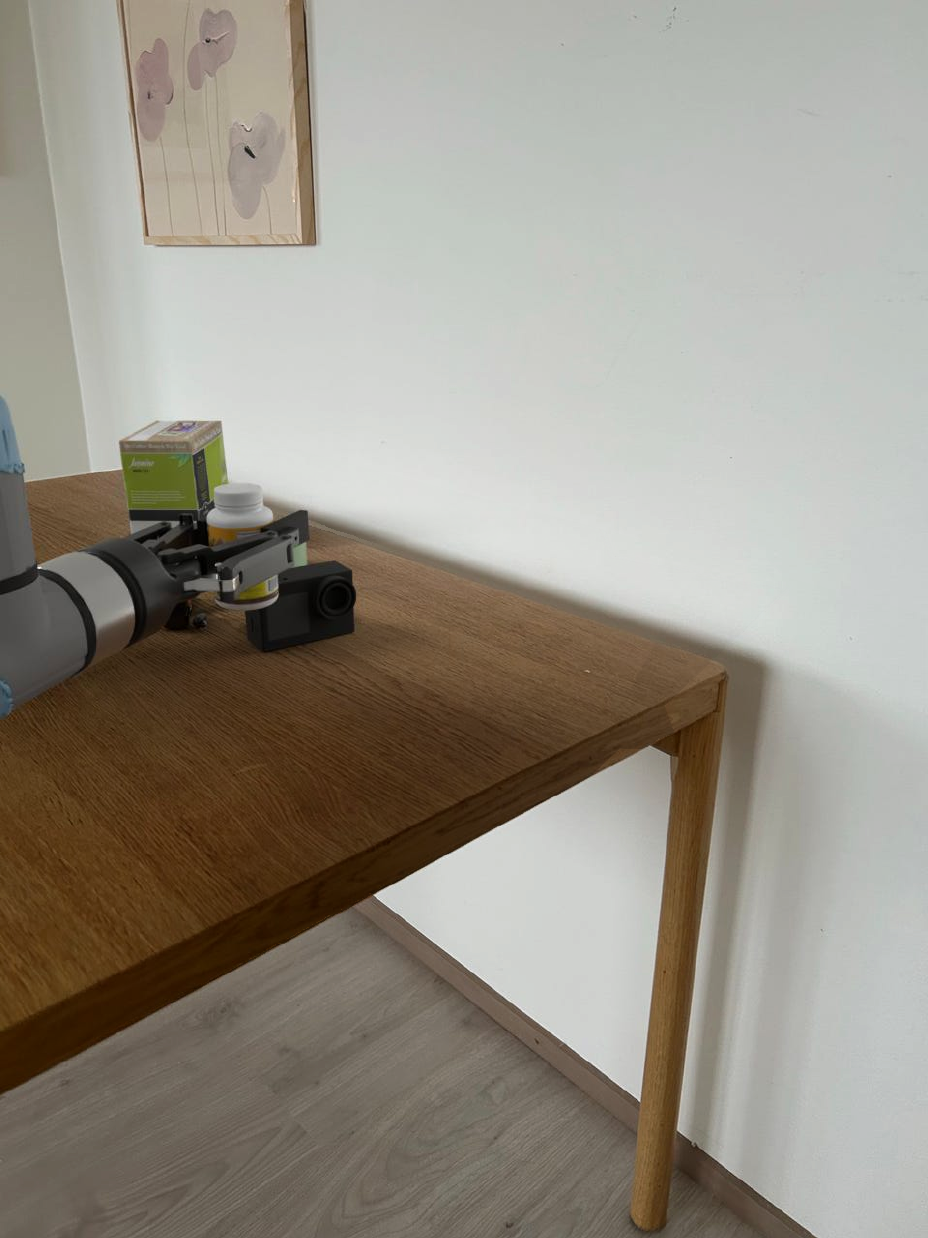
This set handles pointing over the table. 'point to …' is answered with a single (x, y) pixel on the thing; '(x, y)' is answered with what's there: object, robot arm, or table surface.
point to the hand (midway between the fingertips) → (273, 521)
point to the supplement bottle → (241, 535)
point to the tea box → (172, 471)
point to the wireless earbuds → (185, 617)
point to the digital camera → (305, 607)
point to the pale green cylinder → (300, 555)
